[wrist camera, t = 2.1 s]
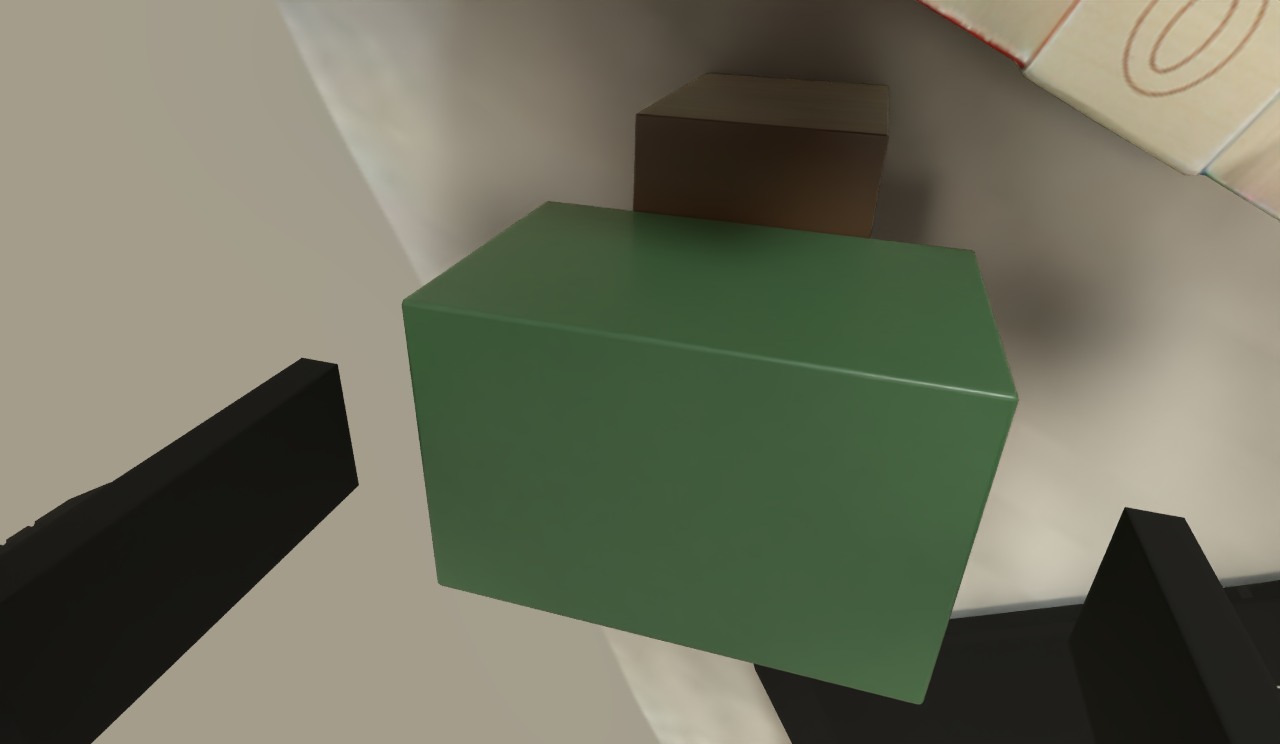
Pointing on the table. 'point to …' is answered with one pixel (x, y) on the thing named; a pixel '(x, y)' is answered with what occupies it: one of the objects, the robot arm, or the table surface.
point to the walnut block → (764, 153)
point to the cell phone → (986, 683)
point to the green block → (714, 434)
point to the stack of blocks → (1155, 76)
